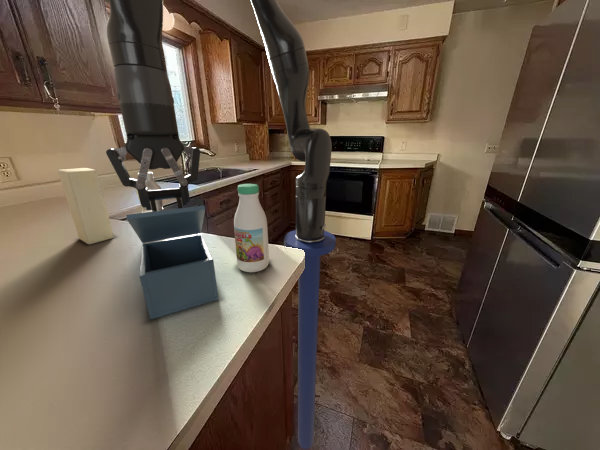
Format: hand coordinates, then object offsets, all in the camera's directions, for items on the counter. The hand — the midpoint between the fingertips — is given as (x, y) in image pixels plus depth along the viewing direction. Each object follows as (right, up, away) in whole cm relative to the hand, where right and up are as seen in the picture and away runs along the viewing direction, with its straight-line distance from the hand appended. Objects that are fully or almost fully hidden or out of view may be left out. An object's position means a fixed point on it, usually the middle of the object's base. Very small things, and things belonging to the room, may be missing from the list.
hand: (167, 206), depth 44 cm
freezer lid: (-1, -4, +3) cm, 5 cm away
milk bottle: (+13, -13, +16) cm, 25 cm away
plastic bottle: (-21, -7, +33) cm, 40 cm away
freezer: (0, -17, +7) cm, 18 cm away
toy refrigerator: (-39, -8, +32) cm, 51 cm away
